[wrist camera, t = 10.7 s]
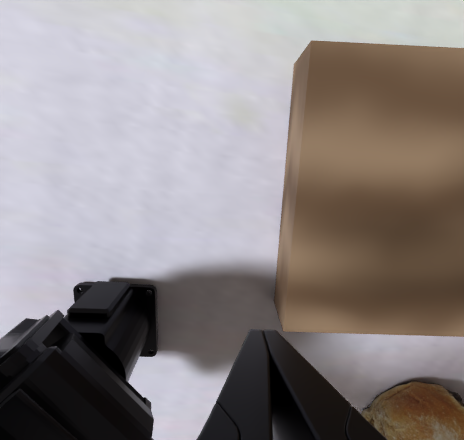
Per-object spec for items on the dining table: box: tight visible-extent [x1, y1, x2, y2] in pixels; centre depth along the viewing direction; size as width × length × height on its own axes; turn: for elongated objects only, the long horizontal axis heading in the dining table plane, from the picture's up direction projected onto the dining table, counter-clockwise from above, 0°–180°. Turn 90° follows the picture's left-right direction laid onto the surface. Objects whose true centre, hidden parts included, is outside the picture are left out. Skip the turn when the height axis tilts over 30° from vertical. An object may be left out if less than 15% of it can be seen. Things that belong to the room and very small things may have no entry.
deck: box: [274, 41, 464, 337], centre depth 19 cm, size 18×14×4 cm
